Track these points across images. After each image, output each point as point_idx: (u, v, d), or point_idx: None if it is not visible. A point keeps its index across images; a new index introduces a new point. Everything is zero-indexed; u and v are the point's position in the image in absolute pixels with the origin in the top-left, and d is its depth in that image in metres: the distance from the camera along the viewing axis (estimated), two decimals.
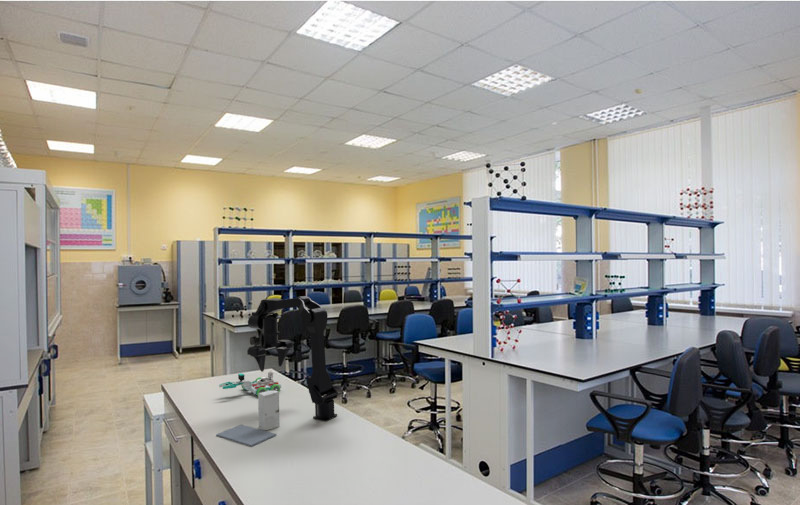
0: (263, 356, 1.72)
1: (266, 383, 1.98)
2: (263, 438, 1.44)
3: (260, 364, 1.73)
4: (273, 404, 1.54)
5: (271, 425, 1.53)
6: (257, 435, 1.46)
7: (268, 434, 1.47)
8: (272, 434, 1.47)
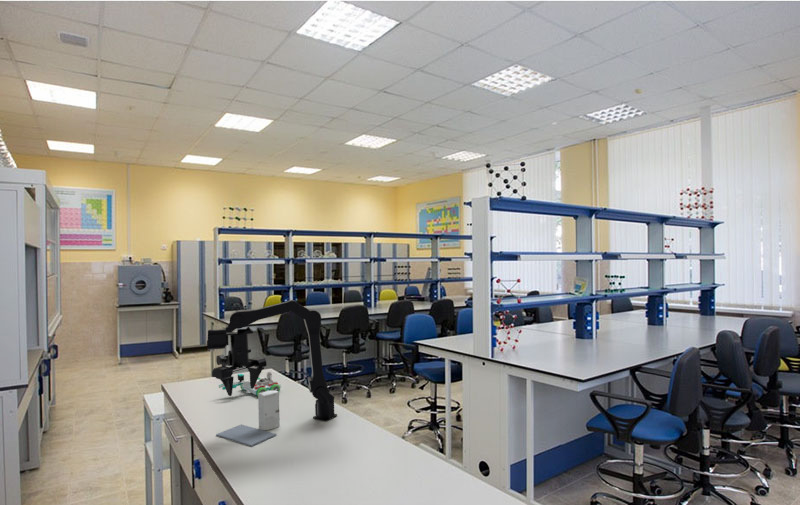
0: (230, 378, 1.47)
1: (265, 383, 1.98)
2: (263, 438, 1.44)
3: (227, 387, 1.49)
4: (273, 404, 1.54)
5: (271, 425, 1.53)
6: (257, 435, 1.46)
7: (268, 434, 1.47)
8: (272, 434, 1.47)
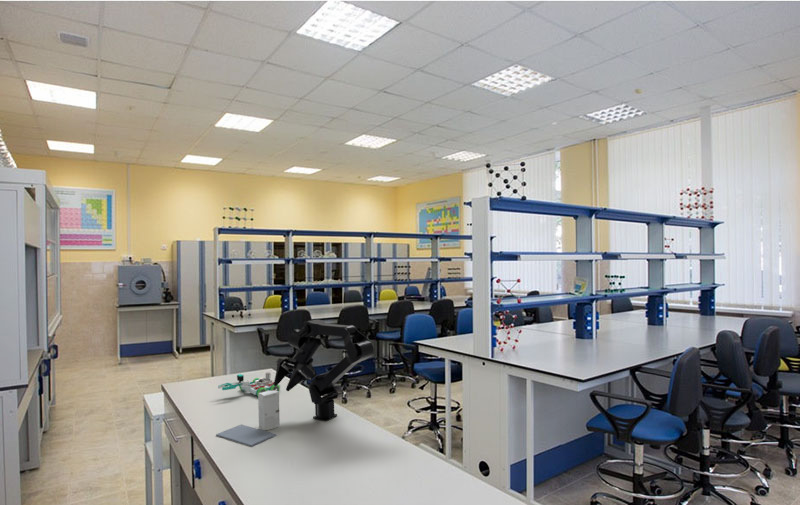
0: (278, 365, 1.64)
1: (265, 383, 1.98)
2: (263, 438, 1.44)
3: None
4: (273, 404, 1.54)
5: (271, 425, 1.53)
6: (257, 435, 1.46)
7: (268, 434, 1.47)
8: (272, 434, 1.47)
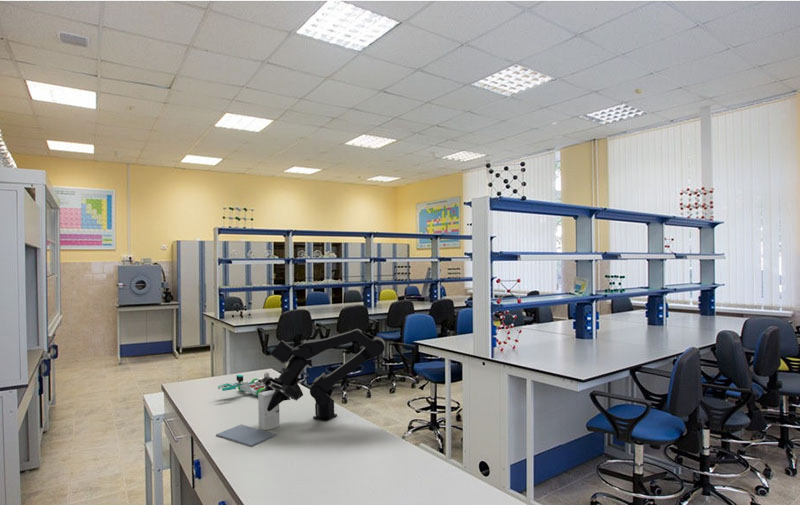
0: (266, 386, 1.59)
1: (264, 384, 1.97)
2: (263, 438, 1.44)
3: None
4: None
5: (271, 425, 1.53)
6: (257, 435, 1.46)
7: (268, 434, 1.47)
8: (272, 434, 1.47)
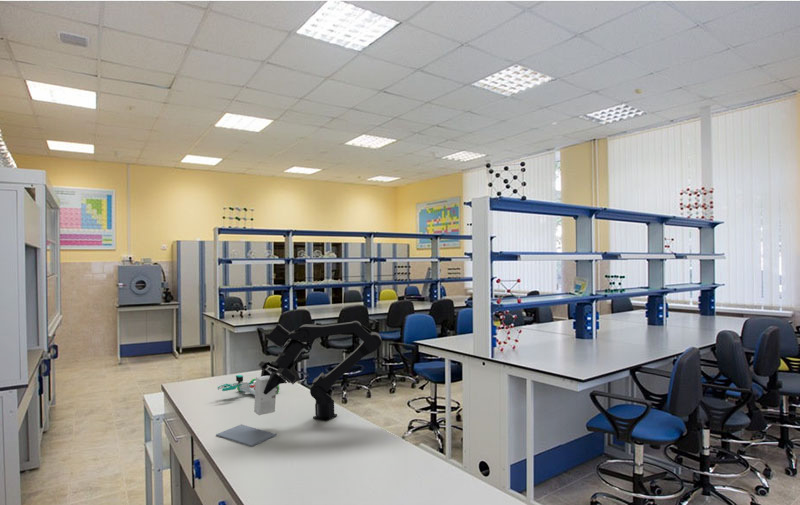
0: (263, 370, 1.58)
1: None
2: (263, 438, 1.44)
3: None
4: None
5: (266, 410, 1.53)
6: (257, 435, 1.46)
7: (268, 434, 1.47)
8: (272, 434, 1.47)
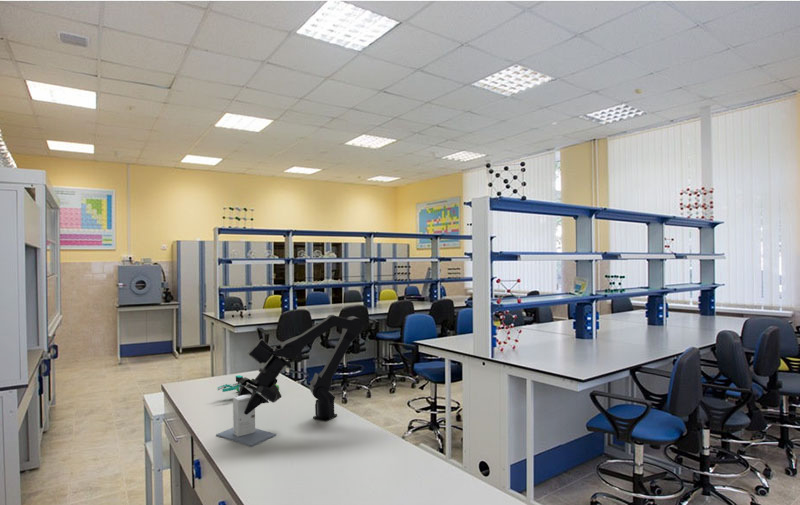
0: (241, 387, 1.54)
1: None
2: (263, 438, 1.44)
3: None
4: None
5: (246, 431, 1.47)
6: (257, 435, 1.46)
7: (268, 434, 1.47)
8: (272, 434, 1.47)
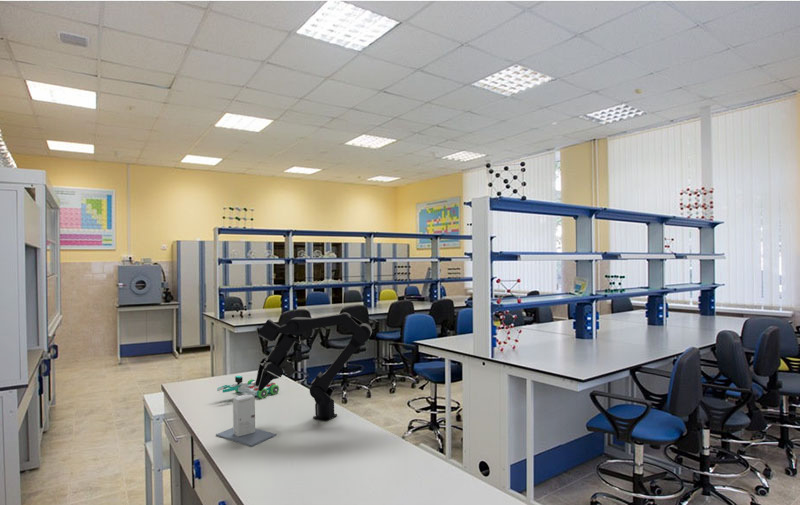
0: (259, 365, 1.65)
1: None
2: (263, 438, 1.44)
3: None
4: (249, 409, 1.48)
5: (246, 431, 1.47)
6: (257, 435, 1.46)
7: (268, 434, 1.47)
8: (272, 434, 1.47)
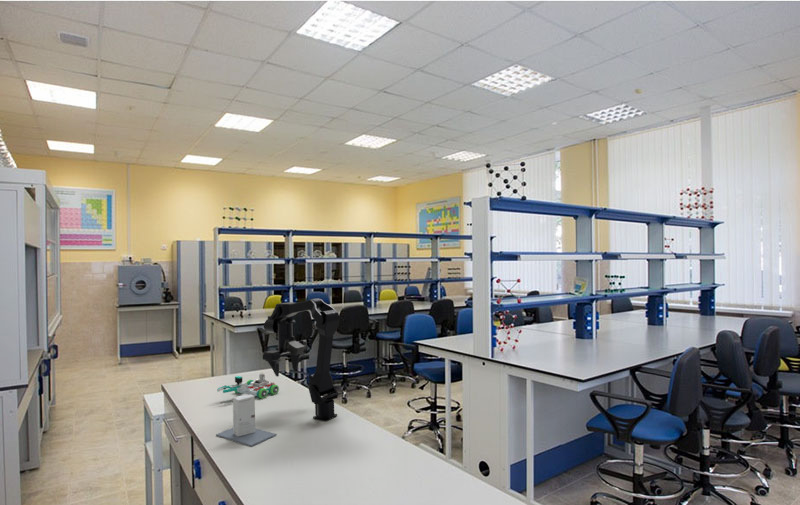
0: None
1: (262, 384, 1.96)
2: (263, 438, 1.44)
3: None
4: (249, 409, 1.48)
5: (246, 431, 1.47)
6: (257, 435, 1.46)
7: (268, 434, 1.47)
8: (272, 434, 1.47)
